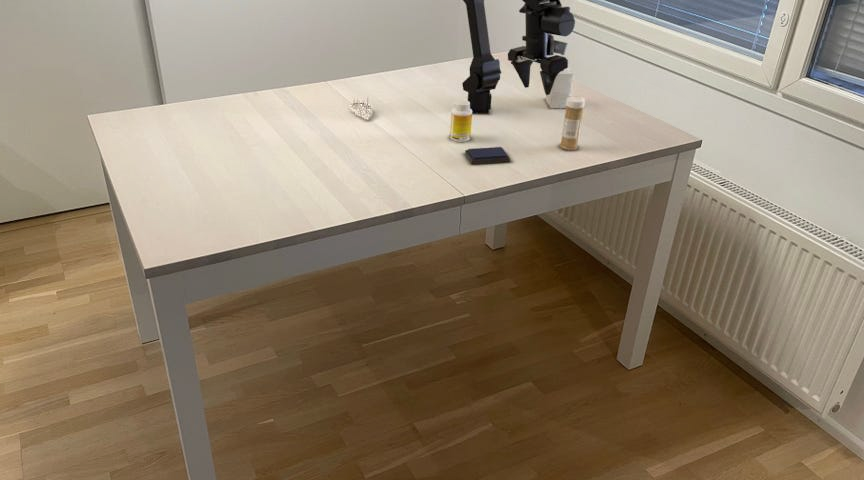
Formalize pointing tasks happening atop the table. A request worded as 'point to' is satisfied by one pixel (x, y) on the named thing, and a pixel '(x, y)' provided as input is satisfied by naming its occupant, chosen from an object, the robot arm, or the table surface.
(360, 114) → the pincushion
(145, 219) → the table surface
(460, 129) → the supplement bottle
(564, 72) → the small box
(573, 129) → the sprinkles bottle
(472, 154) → the ink pad
